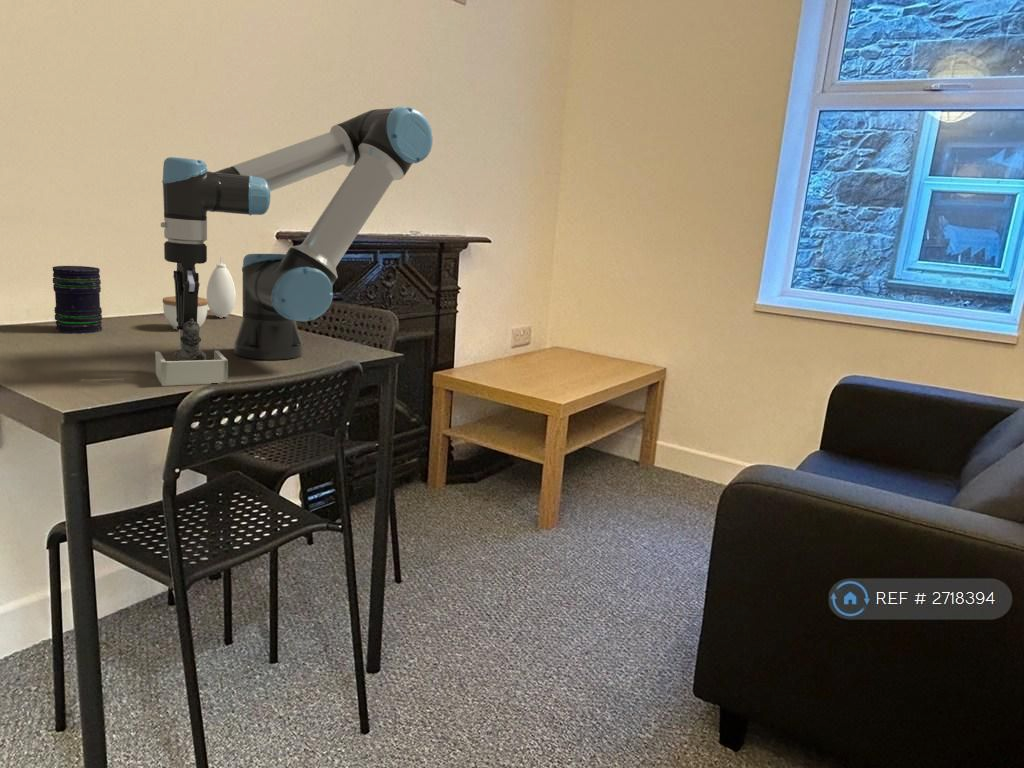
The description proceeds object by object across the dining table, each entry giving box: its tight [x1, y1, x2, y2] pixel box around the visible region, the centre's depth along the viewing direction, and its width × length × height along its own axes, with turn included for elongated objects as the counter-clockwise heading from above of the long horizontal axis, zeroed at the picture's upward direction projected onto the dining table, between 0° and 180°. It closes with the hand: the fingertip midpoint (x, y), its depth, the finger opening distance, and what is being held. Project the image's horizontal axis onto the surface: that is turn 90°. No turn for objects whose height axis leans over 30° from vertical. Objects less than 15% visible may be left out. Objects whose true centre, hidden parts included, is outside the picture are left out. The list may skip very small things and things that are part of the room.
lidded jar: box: [162, 295, 209, 331], centre depth 188 cm, size 11×11×9 cm
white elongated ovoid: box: [206, 254, 237, 319], centre depth 207 cm, size 8×8×18 cm
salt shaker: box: [173, 318, 207, 361], centre depth 140 cm, size 6×6×12 cm
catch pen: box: [154, 350, 229, 387], centre depth 140 cm, size 12×9×4 cm
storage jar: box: [52, 265, 103, 335], centre depth 173 cm, size 10×10×15 cm
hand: (187, 360), depth 144 cm, fingers closed
